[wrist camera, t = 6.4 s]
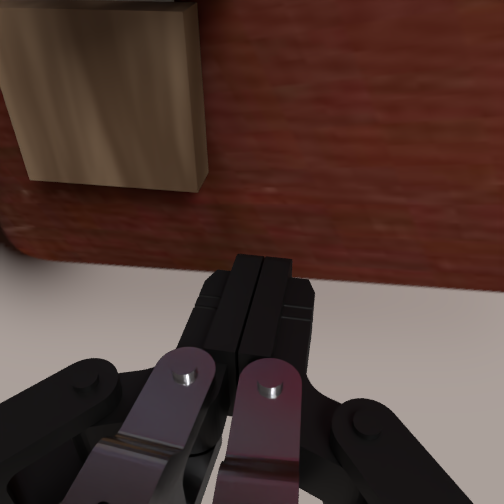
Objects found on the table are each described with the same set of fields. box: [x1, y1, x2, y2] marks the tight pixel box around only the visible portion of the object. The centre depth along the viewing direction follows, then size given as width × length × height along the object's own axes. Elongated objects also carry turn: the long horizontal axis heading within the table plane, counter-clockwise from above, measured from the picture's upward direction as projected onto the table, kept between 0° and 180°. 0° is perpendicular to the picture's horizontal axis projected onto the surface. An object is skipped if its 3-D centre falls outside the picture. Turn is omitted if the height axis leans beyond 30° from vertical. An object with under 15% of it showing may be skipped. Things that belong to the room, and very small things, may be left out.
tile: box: [0, 0, 208, 193], centre depth 25 cm, size 3×9×10 cm
